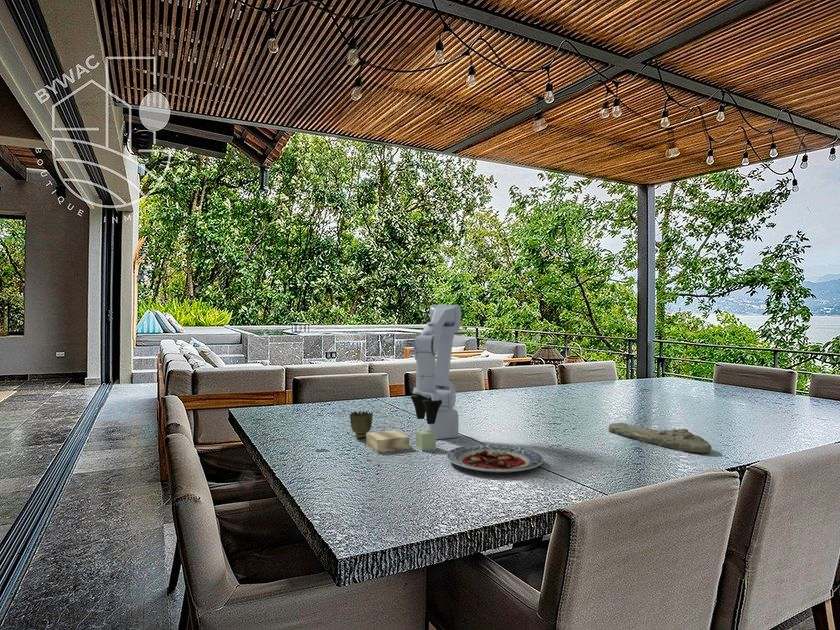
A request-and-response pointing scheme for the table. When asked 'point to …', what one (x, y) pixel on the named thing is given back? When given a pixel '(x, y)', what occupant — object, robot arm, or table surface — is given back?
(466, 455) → the ceramic plate
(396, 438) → the birch block
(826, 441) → the table surface
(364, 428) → the cup
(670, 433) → the elongated rock
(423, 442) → the green block
